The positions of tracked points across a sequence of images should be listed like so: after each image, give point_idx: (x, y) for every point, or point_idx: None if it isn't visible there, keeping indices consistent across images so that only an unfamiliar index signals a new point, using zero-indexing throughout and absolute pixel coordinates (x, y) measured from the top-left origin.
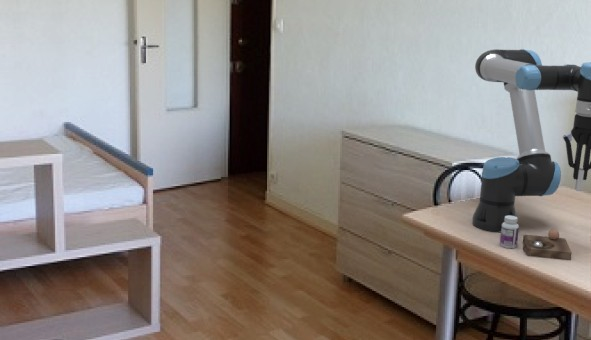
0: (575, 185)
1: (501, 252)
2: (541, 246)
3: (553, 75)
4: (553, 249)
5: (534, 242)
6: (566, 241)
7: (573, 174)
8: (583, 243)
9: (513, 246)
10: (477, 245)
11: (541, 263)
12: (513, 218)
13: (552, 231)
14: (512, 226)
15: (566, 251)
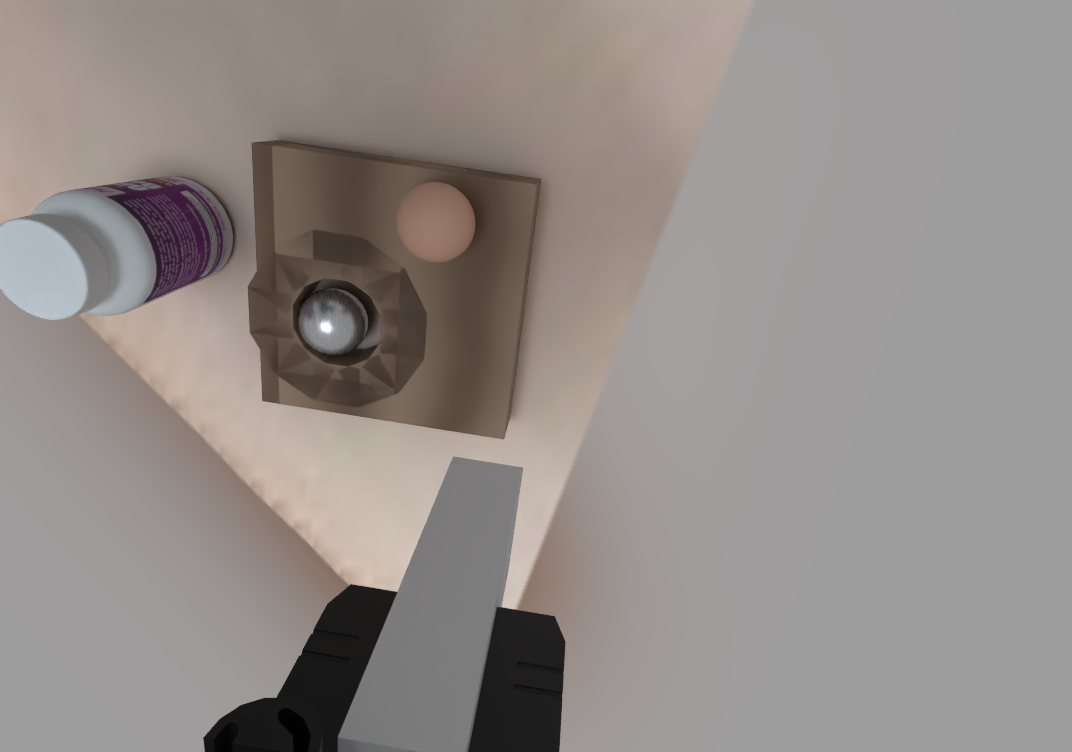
0: (442, 490)
1: (152, 343)
2: (347, 351)
3: None
4: (407, 403)
5: (302, 327)
6: (526, 250)
7: (307, 657)
8: (697, 107)
9: (208, 276)
10: None
11: (346, 471)
12: (56, 300)
13: (412, 247)
14: (98, 313)
15: (477, 426)
